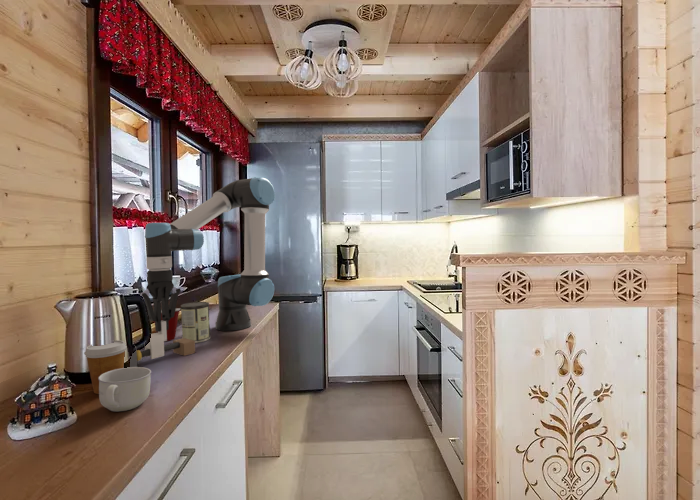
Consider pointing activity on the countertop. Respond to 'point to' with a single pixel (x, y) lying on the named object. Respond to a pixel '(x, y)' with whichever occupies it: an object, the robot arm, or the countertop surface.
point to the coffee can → (195, 321)
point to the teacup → (124, 388)
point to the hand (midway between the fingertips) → (162, 340)
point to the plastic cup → (172, 325)
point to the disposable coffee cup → (104, 360)
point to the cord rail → (177, 346)
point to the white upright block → (156, 345)
